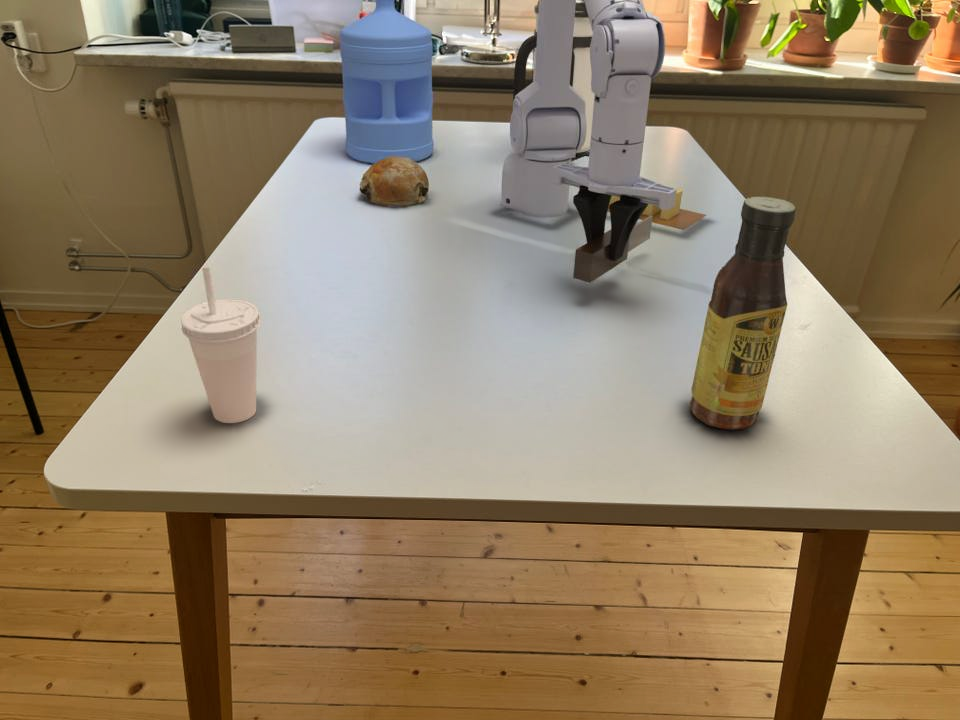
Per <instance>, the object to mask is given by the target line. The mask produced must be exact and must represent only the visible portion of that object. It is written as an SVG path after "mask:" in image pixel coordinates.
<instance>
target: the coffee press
mask: <svg viewBox="0 0 960 720" xmlns="http://www.w3.org/2000/svg"><path fill="white" fill-rule="evenodd" d="M533 10H534V14H535V29H534V31H533V35H531V36H529V37H528V38H526V39H525V40H524V41H523V42H521V45H520V46H519V48H518V51H517V54H516V57H515V63H514V72H513V95H512V102H513V101H514V99H515V96H516V95H517V94H518V93H519V92H521V91H522V90H523V89H525V88H526V79H527V78H526V76H527V65H528V64H527V63H528V59H529V58H530V57H529V56H530V54H531V52H532V65H533V67H532V69H531V70H532V71H531V72H532V73H531V83H533V82H534V80H535V66H536V48H537V29H538V11H539V0H538V1H537V4H536V5H534V9H533ZM592 35H593V31H592V28H591V24H590V20H589V16H588V13H587V9H586V5H585V1H584V0H576V5H575V18H574V31H573V45H572V58H571V71H570V86H572V87H573V88H574V89H575V90H576V91H578V92H579V93H580V94H581V95H582V97H583V98H584V101H585V104H586V109H585V117H586V124H587V132H586V139H585V143H584V145H583V146H582V148H581V149H580V150H579V151H578V152H576V154H580V153H584V152H588V151H590V142H591V130H592V119H593V108H594V97H595V93H593V92H592V91H591V77H592V71H591V63H590V44H591V39H592Z"/></svg>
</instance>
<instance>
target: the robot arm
mask: <svg viewBox="0 0 960 720" xmlns="http://www.w3.org/2000/svg"><path fill="white" fill-rule="evenodd" d="M584 1H585V5H586V9H587V13H588V16H589V20H590V24H591V28H592V31H593V35H592V39H591V44H590V63H591V71H592V77H591V91H592V92H593V93H595V97H594V108H593V119H592V130H591V142H590V150H589V153H588V155H589V156H588V165H587V166H579V165H572V159H573V158H574V159H575V158H576V154H577V153H576V152H578V151H579V150H580V149H581V148H582V146H583V145H584V143H585V139H586V132H587V124H586V117H585V109H586V104H585V101H584V98H583V97H582V95H581V94H580V93H579V92H578V91H576V90H575V89H574V88H573V87H572V86H570V71H571V58H572V45H573V31H574V18H575V5H576V0H539V11H538V29H537V48H536V66H535V80H534V82H533V83H532V82H531V83H530V84H529V85H527V86H525V89H523V90H522V91H521V92H519V93H518V94H517V95H516V96H515V99H514V101H513V100H512V112H511V115H510V120H509V137H510V138H509V139H510V144H511V147H512V150H511V151H510V152H509V153H508V154H507V155H506V157H505V159H504V162H503V165H502V170H501V194H500V195H501V196H500V197H501V198H500V206H501V207H503V208H506V209H510V210H514V211H518V212H520V213H523V214H524V215H528V216H531V217H537V218H539V217H540V218H553V217H559V216H562V215H565V214H566V213H568V207H569V195H570V194H569V193H570V187H574V188H578V191H577V194H575V195H574V196H573V197H572V203H573V204H574V207H575V208H576V211H577V213H578V215H579V219H580V220H581V223H582V227H583V231H584V234H585V239H586V240H585V241H586V243H588V242H590V241H591V240H593V239H595V238H597V237H598V236H600V235H602V234H604V233H605V232H606V231H605V229H606V220H607V215H608V212H607V211H608V207H609V210H610V212H609V216H610V230H611V240H610V248H609V258H610V260H612V261H616V260H617V259H619V258H621V257H622V256H623V253H624V250H625V247H626V244H627V241H628V239H629V236H630V234H631V232H632V230H633V228H634V226H635V225H636V224H637V223H638V221H639V220H640V219H639V218H640V216H641V214H642V213H643V212H644V210H645V209H646V207H647V206H648V204H651V205H656V206H659V208H660V209H663V210H668V209H670V208H672V207H673V206H675V201H676V194H677V189H678V188H675V187H671V186H667V185H665V184H663V183H659V182H656V181H653V180H651V179H649V178H645V177H644V176H641V168H642V159H643V152H644V143H645V136H646V135H645V134H646V126H647V119H648V118H647V117H648V109H649V100H650V92H651V84H652V78H655V77H657V76H658V74H659V73H660V71H661V70H662V67H663V64H664V60H665V54H666V34H665V29H664V24H663V21H662V20H661V19H660V18H659V17H658V16H654V14H653V12H652V11H647V10H646V8H645V5H644V2H643V0H584ZM612 195H613V196H617V197H620V200H619V201H618V200H617V201H616V202H614V203H612V204H610V205H609V203H610V200H611V196H612Z"/></svg>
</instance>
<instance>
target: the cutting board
mask: <svg viewBox="0 0 960 720" xmlns="http://www.w3.org/2000/svg"><path fill="white" fill-rule="evenodd" d="M607 213H610V210H609V207H608V211H607ZM652 216H653V217H652V224H657V225H661V226H665V227H670V228H674V229H677V230H681V231H684V230H686V229H688V228H689V227H691V226H692V225H694V224H696V223H697V222H698V221H700V220H702V219H704V217H706V216H707V214H705V213H701V212H696V211H691V210H686V209H683V208H680V211H679V214H677V215H675V216H674V217H672V218H670V219H669V220H664V219H660V216H661V211H659V212H658V213H656V214H654V215H652ZM647 217H649V216H647V215H643V214H641V216H640V218H639V219H638V220H639V221H640V220H641V221H642V220H644V219H646V218H647Z"/></svg>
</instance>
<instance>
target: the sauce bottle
mask: <svg viewBox="0 0 960 720" xmlns="http://www.w3.org/2000/svg"><path fill="white" fill-rule="evenodd" d="M796 211H797V209H796V206H795V205H794V204H793V203H792V202H790V201H788V200H784V199H782V198H776V197H775V198H774V197H771V196H770V197H769V196H751V197H747V198H745V199H744V201H743V203H742V207H741V210H740V217H741V225H740V229H739V233H738V239H737V243H736V244H735V247H734V248H735V249H734V254H733V255H732V256H731V257H730V259H729V260H727V262H726V263H725V264H724V266H722V267H721V268H720V270H718V273H717V274H716V277H715V280H714V283H713V288H712V293H711V297H710V300H709V302H708V306H707V313H706V316H705V322H704V326H703V332H702V336H701V342H700V346H699V350H698V355H697V360H696V366H695V370H694V376H693V381H692V385H691V389H690V391H691V395H692V396H691V399H690V401H689V406H690V407H689V408H690V411H691V413H692V415H693V416H694V417H695V418H696V419H698V420H699V421H700V422H702V423H703V424H704V425H707V426H709V427H714V428H718V429H721V430H730V431H731V430H732V431H733V430H734V431H735V430H742V429H743V430H744V429H746V428H749V427H750V426H751V425H753V424H754V423H755V422H756V420H757V418H758V417H759V414H760V411H761V410H762V408H763V405H764V400H765V396H766V393H767V388H768V385H769V380H770V375H771V372H772V368H773V364H774V361H775V357H776V352H777V348H778V344H779V341H780V336H781V332H782V327H783V324H784V320H785V316H786V312H787V309H788V299H787V294H786V281H785V270H784V257H785V248H786V243H787V240H788V235H789V230H790V228H791V227H792V225H793V224H794V221H795V216H796Z"/></svg>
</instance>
